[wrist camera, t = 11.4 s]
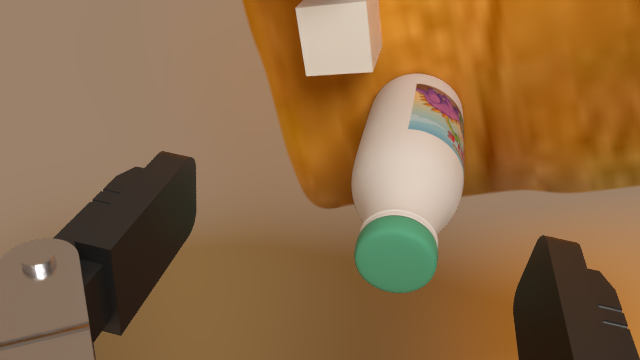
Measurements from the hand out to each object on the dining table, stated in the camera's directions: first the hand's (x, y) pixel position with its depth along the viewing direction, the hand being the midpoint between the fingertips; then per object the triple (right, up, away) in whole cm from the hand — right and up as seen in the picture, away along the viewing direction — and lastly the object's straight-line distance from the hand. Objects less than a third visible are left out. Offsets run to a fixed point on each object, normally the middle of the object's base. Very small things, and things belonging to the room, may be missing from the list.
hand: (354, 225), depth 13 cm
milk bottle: (+8, +7, +34) cm, 35 cm away
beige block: (+2, +14, +31) cm, 34 cm away
